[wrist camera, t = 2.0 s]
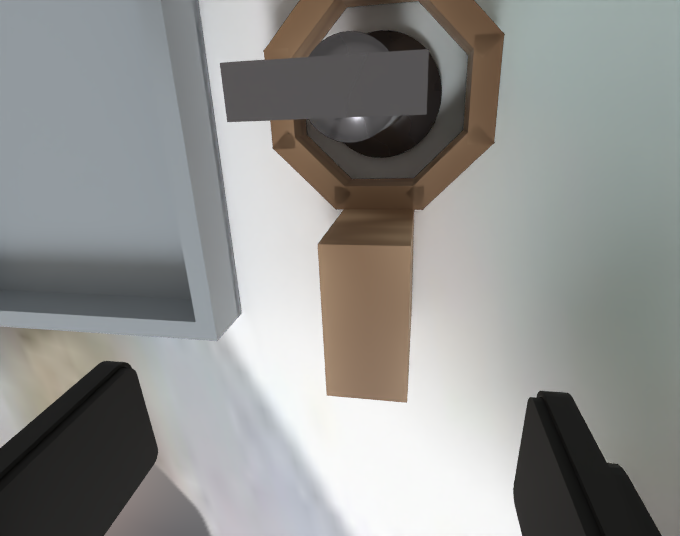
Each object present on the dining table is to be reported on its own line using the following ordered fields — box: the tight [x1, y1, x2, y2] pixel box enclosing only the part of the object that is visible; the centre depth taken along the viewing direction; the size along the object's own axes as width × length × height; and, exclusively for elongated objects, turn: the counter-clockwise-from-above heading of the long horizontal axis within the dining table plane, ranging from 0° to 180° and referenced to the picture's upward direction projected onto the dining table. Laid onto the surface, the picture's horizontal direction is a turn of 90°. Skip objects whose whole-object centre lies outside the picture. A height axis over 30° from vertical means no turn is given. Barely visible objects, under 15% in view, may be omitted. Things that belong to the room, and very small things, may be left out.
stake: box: [220, 31, 442, 158], centre depth 13 cm, size 5×5×10 cm
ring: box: [263, 0, 505, 403], centre depth 16 cm, size 9×15×7 cm, turn 3°
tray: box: [0, 0, 241, 341], centre depth 20 cm, size 18×22×3 cm
